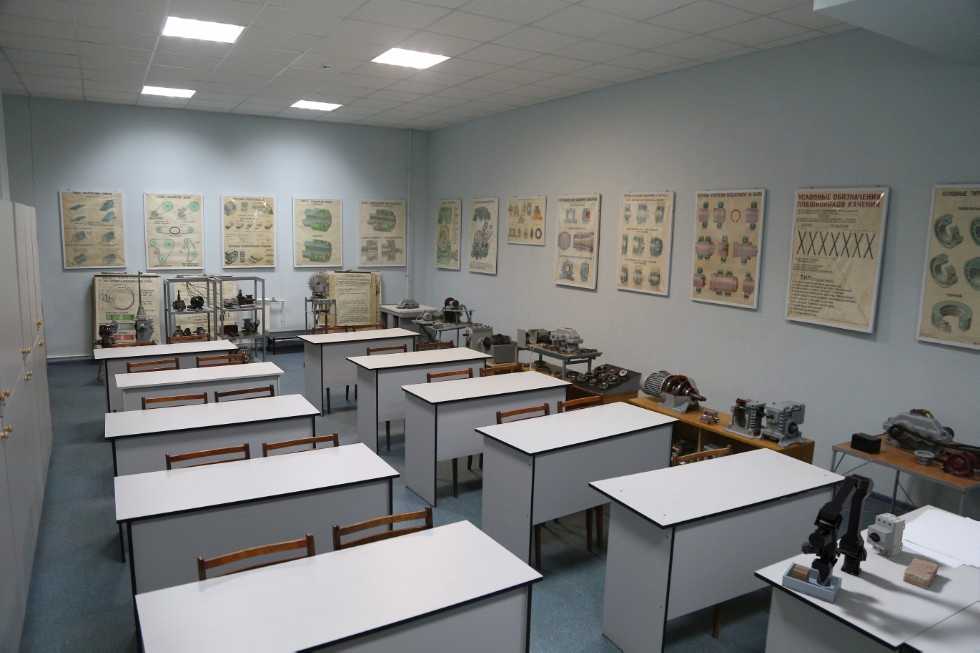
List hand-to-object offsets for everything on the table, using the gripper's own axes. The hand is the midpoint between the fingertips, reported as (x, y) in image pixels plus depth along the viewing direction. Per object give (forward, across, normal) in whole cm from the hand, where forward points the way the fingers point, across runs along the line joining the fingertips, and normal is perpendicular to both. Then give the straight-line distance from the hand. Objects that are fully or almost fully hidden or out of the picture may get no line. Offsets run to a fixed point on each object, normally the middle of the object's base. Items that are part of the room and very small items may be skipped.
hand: (824, 579), depth 240 cm
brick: (+5, -36, +27) cm, 45 cm away
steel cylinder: (+2, 0, 0) cm, 2 cm away
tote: (+4, 0, -4) cm, 6 cm away
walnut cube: (+4, 0, -8) cm, 9 cm away
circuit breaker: (+5, -50, +12) cm, 52 cm away
